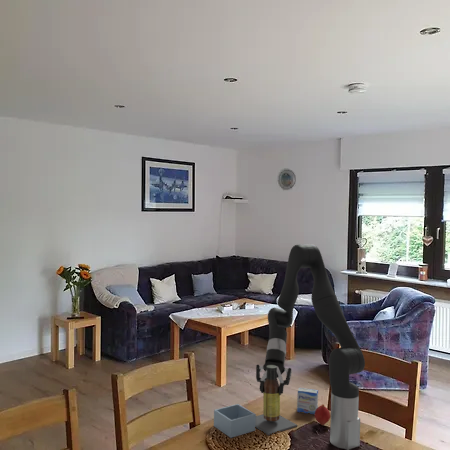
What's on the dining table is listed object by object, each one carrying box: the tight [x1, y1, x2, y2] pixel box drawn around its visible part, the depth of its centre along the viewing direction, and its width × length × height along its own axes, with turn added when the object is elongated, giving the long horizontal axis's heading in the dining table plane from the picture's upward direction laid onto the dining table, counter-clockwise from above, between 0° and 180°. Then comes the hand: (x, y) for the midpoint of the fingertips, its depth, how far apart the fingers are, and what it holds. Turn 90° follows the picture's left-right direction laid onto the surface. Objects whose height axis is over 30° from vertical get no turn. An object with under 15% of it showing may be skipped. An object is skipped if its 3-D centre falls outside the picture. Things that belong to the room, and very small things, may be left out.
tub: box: [213, 403, 257, 439], centre depth 172 cm, size 11×11×6 cm
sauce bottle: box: [262, 365, 281, 421], centre depth 177 cm, size 7×6×20 cm
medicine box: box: [296, 387, 319, 415], centre depth 189 cm, size 8×4×9 cm, turn 73°
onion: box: [313, 403, 331, 426], centre depth 177 cm, size 6×6×8 cm
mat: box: [255, 413, 298, 436], centre depth 177 cm, size 14×14×1 cm
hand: (270, 393), depth 175 cm, fingers closed on sauce bottle, 6 cm apart
